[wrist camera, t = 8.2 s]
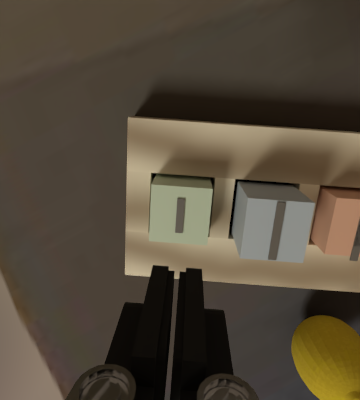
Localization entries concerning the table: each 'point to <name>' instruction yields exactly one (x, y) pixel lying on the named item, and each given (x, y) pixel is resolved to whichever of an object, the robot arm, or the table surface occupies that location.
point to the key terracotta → (337, 221)
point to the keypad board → (224, 189)
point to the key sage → (180, 209)
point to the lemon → (328, 357)
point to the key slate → (271, 222)
